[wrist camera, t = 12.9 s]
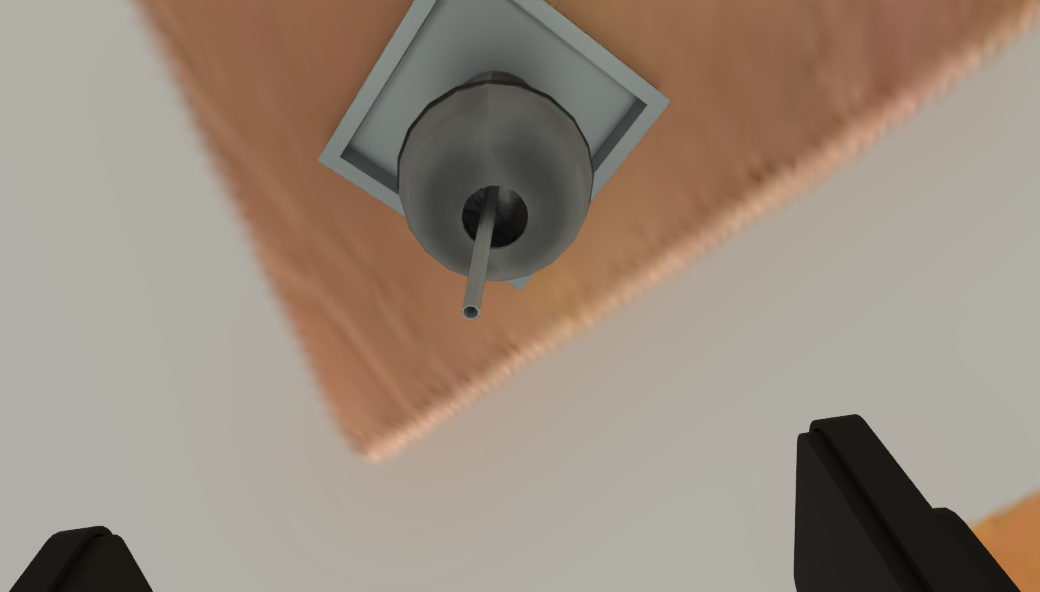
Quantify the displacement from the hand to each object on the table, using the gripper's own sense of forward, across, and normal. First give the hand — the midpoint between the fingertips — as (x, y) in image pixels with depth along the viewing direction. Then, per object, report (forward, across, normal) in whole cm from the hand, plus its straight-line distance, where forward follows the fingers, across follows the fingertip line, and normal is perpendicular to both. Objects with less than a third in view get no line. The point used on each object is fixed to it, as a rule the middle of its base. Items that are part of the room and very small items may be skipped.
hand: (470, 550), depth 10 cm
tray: (+30, 0, +1) cm, 30 cm away
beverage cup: (+30, 0, +1) cm, 30 cm away
